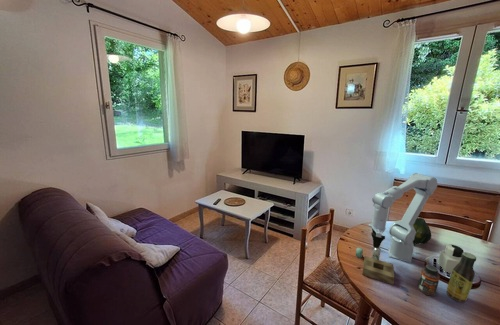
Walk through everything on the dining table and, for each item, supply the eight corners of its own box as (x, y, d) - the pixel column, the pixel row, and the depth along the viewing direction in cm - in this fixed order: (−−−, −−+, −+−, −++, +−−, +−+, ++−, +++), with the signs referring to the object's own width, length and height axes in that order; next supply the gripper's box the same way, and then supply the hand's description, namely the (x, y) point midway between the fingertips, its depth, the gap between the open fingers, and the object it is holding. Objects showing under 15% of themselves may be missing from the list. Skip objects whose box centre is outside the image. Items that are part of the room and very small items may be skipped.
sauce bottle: (441, 291, 93) (452, 249, 88) (455, 290, 93) (466, 248, 89) (457, 304, 87) (469, 260, 82) (472, 303, 87) (484, 259, 83)
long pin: (378, 260, 112) (380, 247, 111) (378, 263, 110) (380, 251, 108) (372, 258, 114) (373, 246, 112) (371, 261, 111) (373, 249, 109)
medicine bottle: (455, 266, 108) (460, 244, 105) (463, 276, 102) (469, 253, 99) (437, 262, 110) (442, 241, 108) (444, 272, 104) (449, 249, 101)
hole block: (392, 270, 105) (393, 264, 104) (393, 284, 96) (394, 277, 96) (363, 262, 111) (364, 256, 110) (362, 274, 102) (363, 268, 101)
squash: (392, 231, 129) (417, 218, 121) (397, 222, 140) (419, 210, 132) (412, 253, 124) (439, 241, 116) (414, 242, 135) (439, 231, 127)
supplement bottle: (420, 294, 91) (425, 270, 89) (415, 283, 97) (420, 261, 94) (438, 298, 89) (444, 274, 87) (432, 287, 95) (437, 264, 92)
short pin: (362, 255, 116) (363, 248, 115) (361, 258, 113) (362, 251, 112) (356, 253, 117) (356, 247, 116) (355, 256, 115) (356, 250, 114)
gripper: (369, 210, 114) (366, 234, 117) (370, 222, 101) (366, 248, 104) (385, 213, 111) (381, 237, 114) (388, 226, 98) (383, 253, 101)
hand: (375, 243), depth 109 cm, fingers open, 7 cm apart
